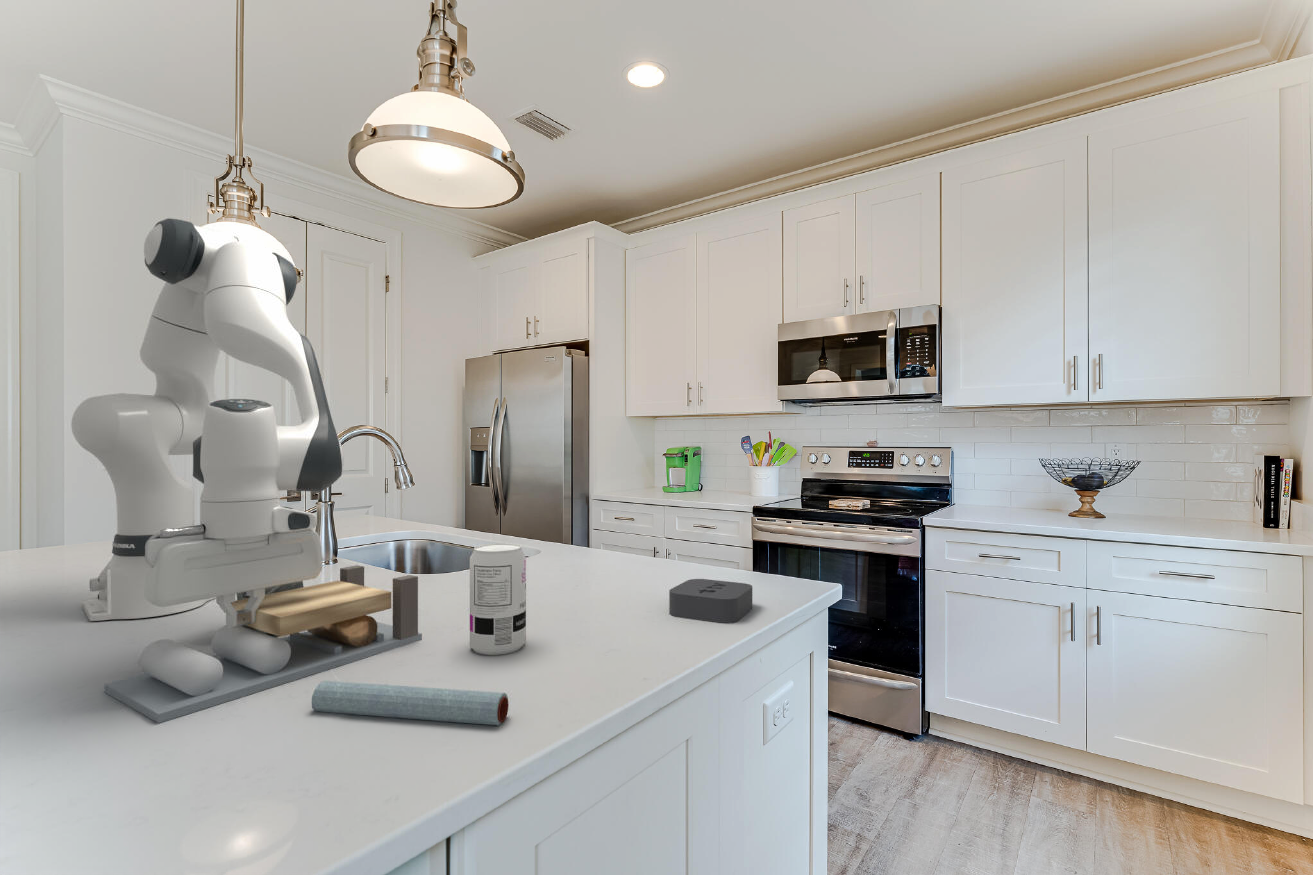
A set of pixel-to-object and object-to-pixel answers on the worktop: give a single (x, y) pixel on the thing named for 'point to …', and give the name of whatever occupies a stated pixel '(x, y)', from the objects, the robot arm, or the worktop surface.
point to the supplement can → (497, 598)
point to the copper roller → (350, 631)
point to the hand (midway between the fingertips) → (240, 625)
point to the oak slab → (315, 606)
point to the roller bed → (249, 679)
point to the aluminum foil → (411, 702)
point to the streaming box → (710, 600)
